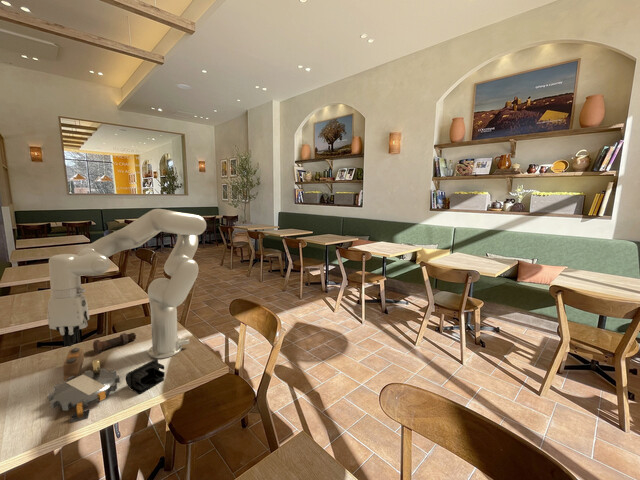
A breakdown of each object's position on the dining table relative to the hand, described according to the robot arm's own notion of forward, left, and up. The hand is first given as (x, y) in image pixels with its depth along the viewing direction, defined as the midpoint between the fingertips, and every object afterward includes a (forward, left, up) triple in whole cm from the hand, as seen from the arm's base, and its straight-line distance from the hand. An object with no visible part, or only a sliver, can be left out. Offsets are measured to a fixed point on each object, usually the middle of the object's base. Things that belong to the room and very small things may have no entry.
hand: (70, 344), depth 100 cm
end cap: (-22, +10, -15) cm, 28 cm away
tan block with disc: (+1, -10, -15) cm, 19 cm away
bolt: (-10, -25, -16) cm, 31 cm away
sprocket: (-5, +8, -13) cm, 16 cm away
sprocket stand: (-5, +12, -15) cm, 20 cm away
